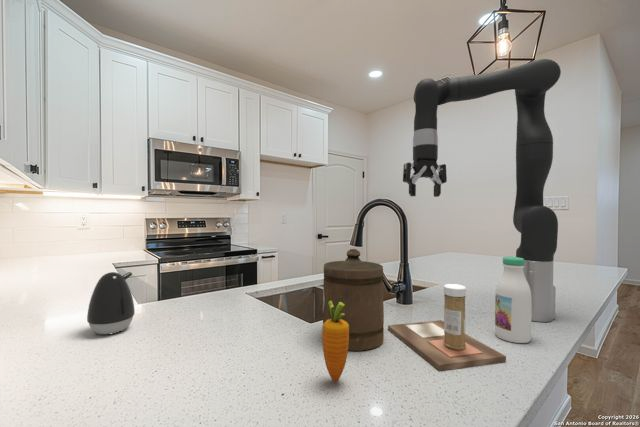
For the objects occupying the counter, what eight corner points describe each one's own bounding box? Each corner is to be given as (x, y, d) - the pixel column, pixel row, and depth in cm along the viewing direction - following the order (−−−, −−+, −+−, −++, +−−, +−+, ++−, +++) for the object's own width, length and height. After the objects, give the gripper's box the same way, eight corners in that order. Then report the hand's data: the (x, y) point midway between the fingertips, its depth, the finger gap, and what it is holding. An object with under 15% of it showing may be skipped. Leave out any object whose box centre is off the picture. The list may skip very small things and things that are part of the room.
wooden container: (349, 323, 88) (349, 244, 88) (395, 338, 77) (396, 249, 77) (310, 338, 77) (310, 249, 77) (357, 358, 67) (358, 255, 67)
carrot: (320, 375, 60) (321, 297, 60) (346, 374, 60) (347, 296, 60) (323, 390, 55) (323, 305, 55) (351, 389, 55) (351, 304, 55)
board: (440, 324, 87) (440, 319, 87) (505, 361, 66) (506, 354, 66) (387, 329, 83) (387, 324, 83) (439, 371, 62) (439, 363, 62)
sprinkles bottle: (470, 347, 69) (470, 286, 69) (457, 352, 66) (458, 289, 66) (451, 340, 73) (451, 282, 73) (438, 344, 70) (439, 284, 70)
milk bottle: (525, 334, 81) (526, 256, 80) (535, 346, 73) (536, 260, 73) (492, 330, 83) (493, 254, 83) (498, 341, 76) (499, 259, 76)
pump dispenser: (144, 327, 84) (144, 270, 84) (103, 342, 74) (103, 278, 74) (119, 321, 88) (119, 267, 88) (78, 334, 79) (78, 274, 78)
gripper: (437, 149, 105) (437, 197, 105) (399, 146, 102) (398, 196, 102) (452, 144, 98) (451, 196, 98) (411, 141, 94) (410, 195, 95)
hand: (424, 196), depth 100 cm, fingers open, 8 cm apart
